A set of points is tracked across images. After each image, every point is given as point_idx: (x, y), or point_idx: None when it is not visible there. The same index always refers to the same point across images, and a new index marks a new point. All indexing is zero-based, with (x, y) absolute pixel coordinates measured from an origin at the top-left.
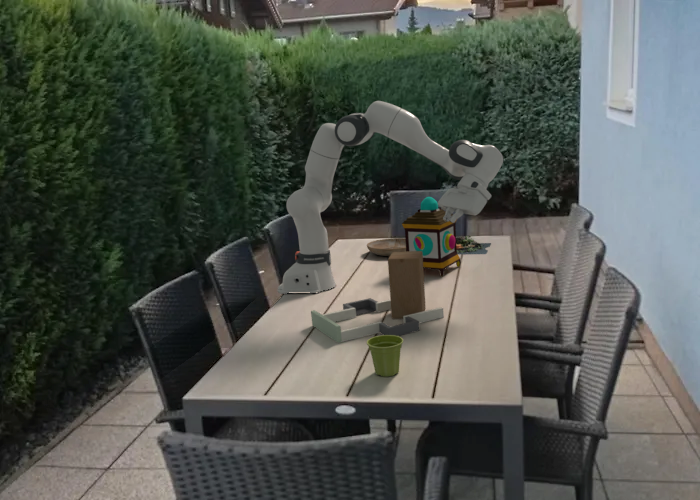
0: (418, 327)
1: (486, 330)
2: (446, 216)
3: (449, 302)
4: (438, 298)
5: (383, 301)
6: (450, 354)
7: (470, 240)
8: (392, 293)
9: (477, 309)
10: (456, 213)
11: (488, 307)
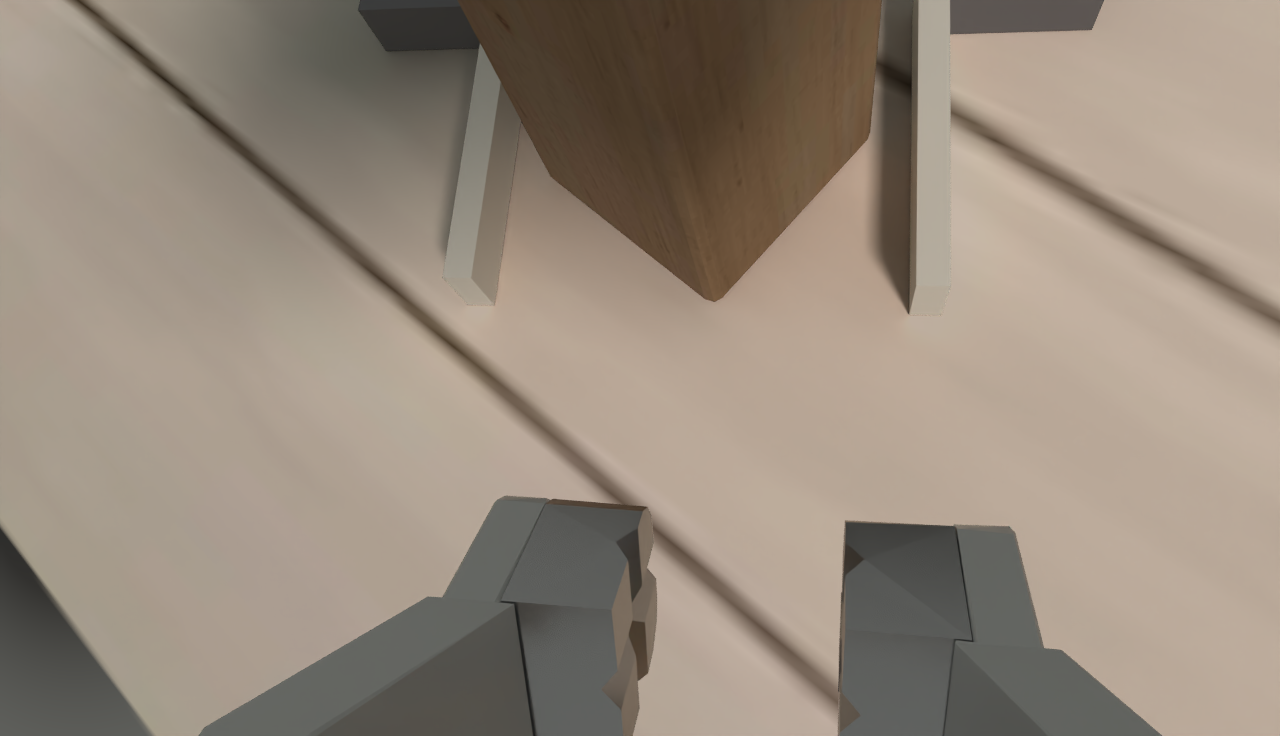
0: (378, 33)
1: (77, 355)
2: (858, 570)
3: (732, 570)
4: None
5: (936, 21)
6: (15, 5)
7: None
8: None
9: None
10: (294, 681)
11: None
